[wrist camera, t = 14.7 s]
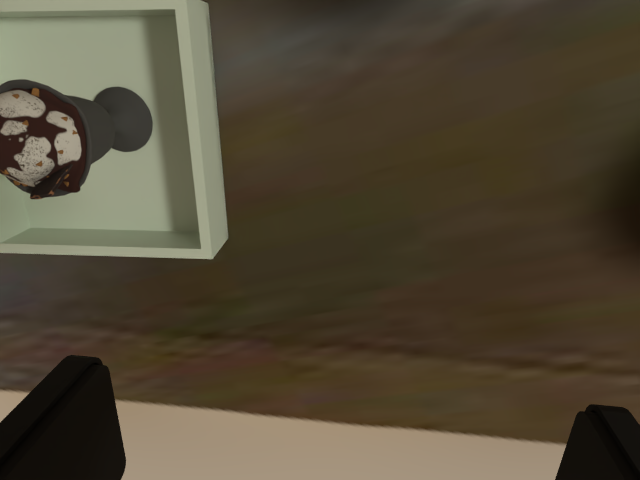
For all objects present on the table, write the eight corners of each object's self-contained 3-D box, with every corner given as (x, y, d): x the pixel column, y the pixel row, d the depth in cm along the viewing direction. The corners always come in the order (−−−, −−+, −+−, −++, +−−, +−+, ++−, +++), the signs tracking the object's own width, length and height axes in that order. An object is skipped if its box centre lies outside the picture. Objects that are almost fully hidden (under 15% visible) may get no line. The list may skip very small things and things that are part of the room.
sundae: (82, 63, 34) (-113, 64, 20) (169, 88, 34) (36, 107, 20) (76, 148, 36) (-100, 202, 22) (157, 171, 36) (33, 239, 22)
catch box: (-28, 7, 34) (-82, -1, 30) (208, 3, 32) (185, -6, 28) (30, 232, 40) (-8, 252, 36) (228, 237, 39) (212, 258, 35)
